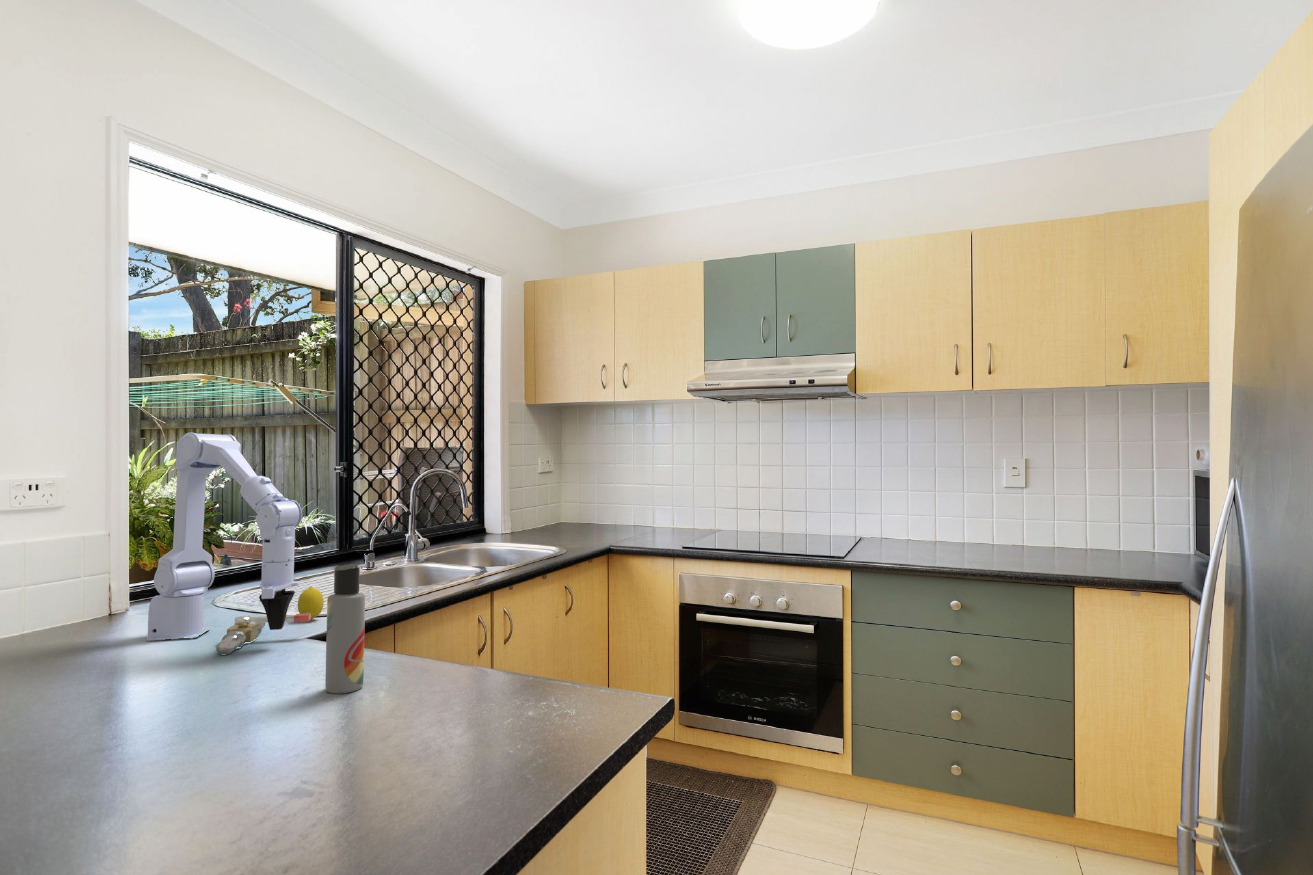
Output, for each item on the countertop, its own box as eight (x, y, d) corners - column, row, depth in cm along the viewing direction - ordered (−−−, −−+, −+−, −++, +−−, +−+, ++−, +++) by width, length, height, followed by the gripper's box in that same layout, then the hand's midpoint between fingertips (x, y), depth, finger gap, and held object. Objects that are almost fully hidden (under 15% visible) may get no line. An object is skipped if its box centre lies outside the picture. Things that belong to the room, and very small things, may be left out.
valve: (236, 657, 135) (237, 635, 135) (211, 659, 134) (211, 636, 134) (268, 632, 156) (269, 612, 156) (247, 633, 155) (247, 613, 155)
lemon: (312, 623, 162) (313, 588, 163) (291, 622, 164) (292, 588, 164) (328, 618, 168) (329, 585, 168) (308, 617, 169) (308, 584, 169)
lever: (232, 625, 143) (232, 619, 143) (237, 622, 146) (237, 616, 146) (308, 621, 147) (308, 615, 147) (311, 618, 150) (311, 612, 150)
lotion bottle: (371, 686, 115) (373, 563, 116) (342, 696, 110) (345, 568, 111) (346, 681, 118) (348, 562, 119) (317, 691, 113) (320, 566, 114)
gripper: (290, 564, 135) (289, 635, 134) (308, 555, 149) (306, 620, 148) (250, 565, 133) (248, 638, 133) (271, 556, 147) (269, 622, 147)
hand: (276, 628), depth 140 cm, fingers closed
